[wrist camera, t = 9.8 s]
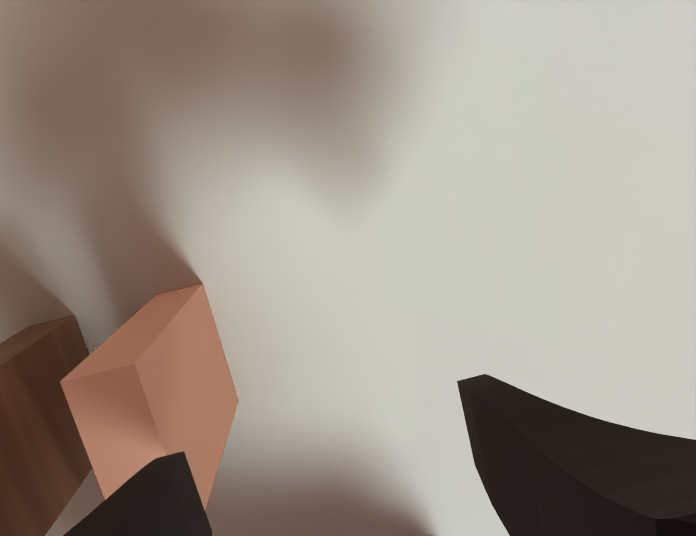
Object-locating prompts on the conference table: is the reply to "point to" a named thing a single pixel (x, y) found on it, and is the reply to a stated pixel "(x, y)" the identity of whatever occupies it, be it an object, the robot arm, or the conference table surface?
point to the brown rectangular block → (39, 427)
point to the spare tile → (156, 392)
